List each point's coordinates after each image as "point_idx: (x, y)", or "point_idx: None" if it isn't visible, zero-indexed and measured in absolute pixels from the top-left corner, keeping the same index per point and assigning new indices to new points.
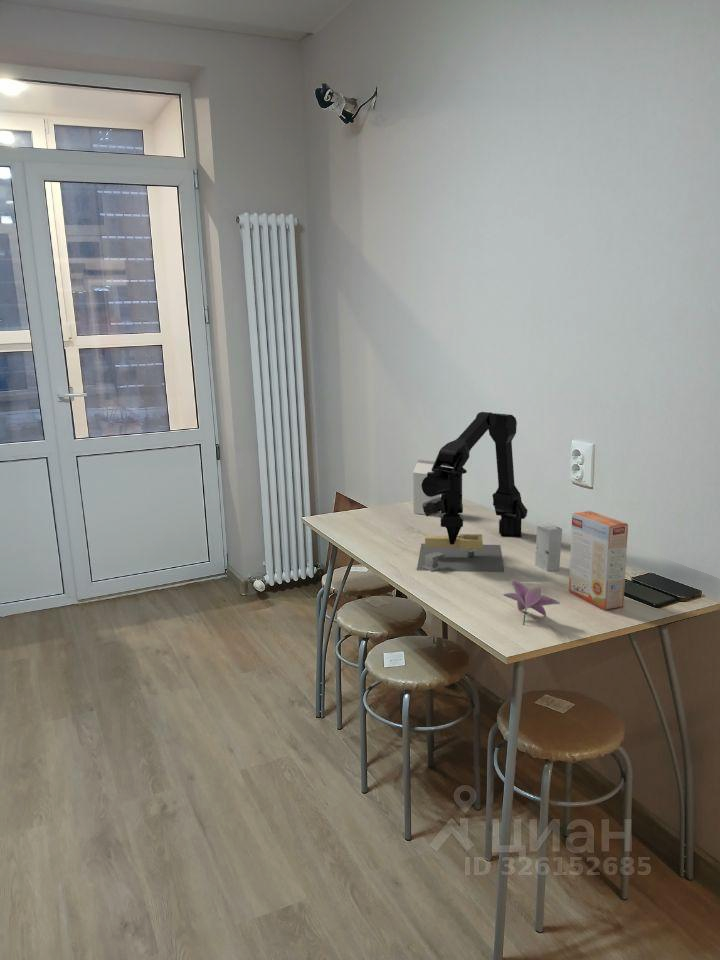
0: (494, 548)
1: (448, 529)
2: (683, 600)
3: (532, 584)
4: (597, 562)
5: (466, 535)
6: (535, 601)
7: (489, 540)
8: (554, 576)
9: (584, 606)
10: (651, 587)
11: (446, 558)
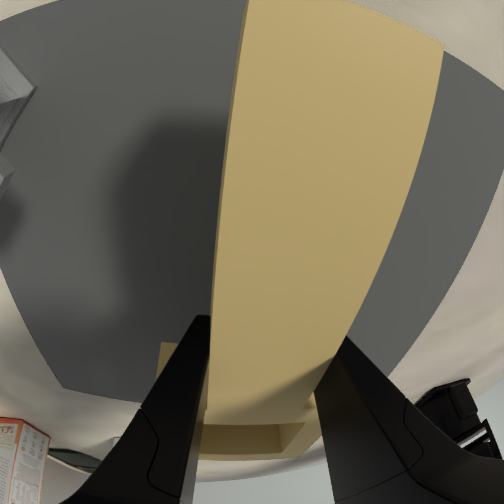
0: None
1: (103, 482)
2: (69, 464)
3: (23, 398)
4: None
5: (300, 428)
6: None
7: (431, 369)
8: (91, 435)
9: None
10: None
11: (194, 206)
